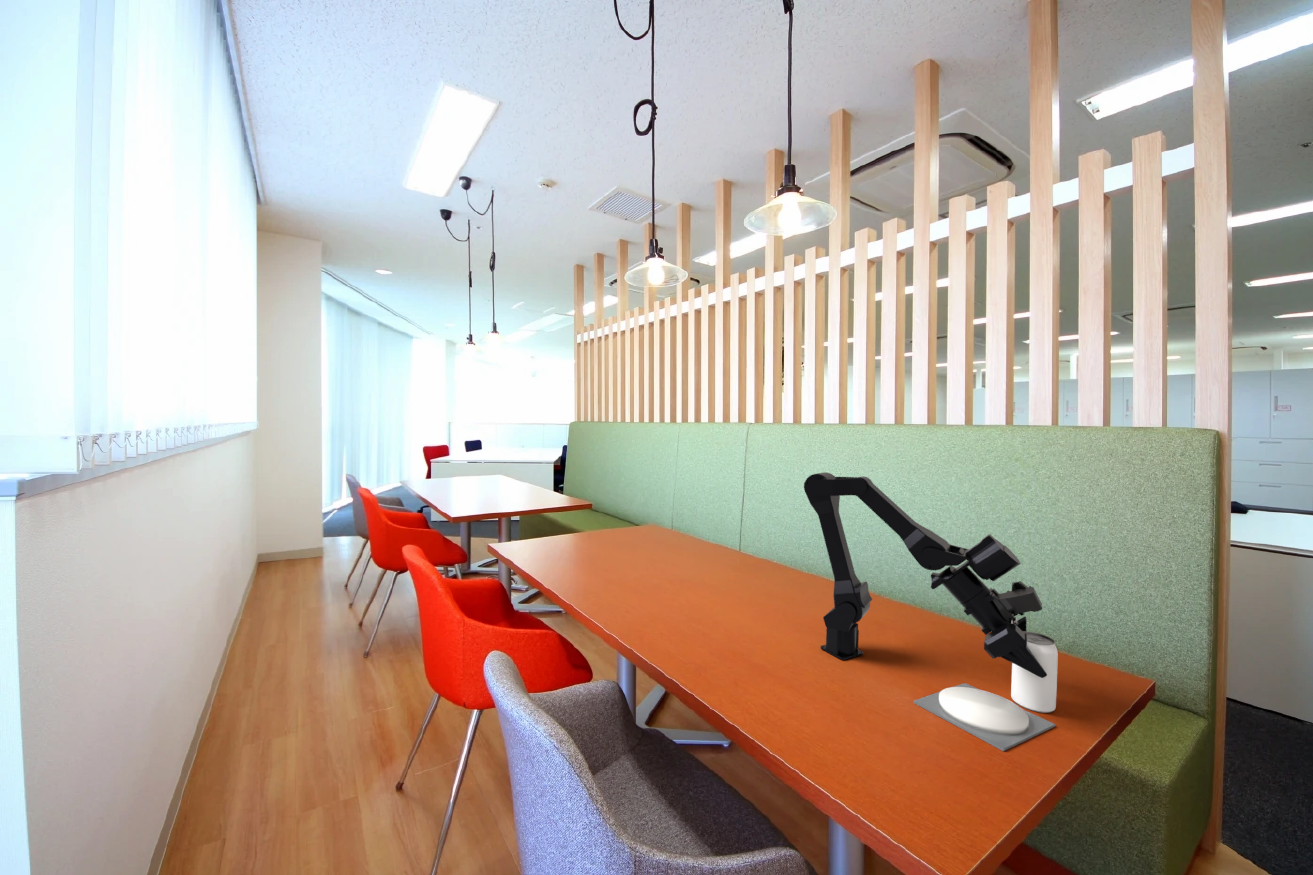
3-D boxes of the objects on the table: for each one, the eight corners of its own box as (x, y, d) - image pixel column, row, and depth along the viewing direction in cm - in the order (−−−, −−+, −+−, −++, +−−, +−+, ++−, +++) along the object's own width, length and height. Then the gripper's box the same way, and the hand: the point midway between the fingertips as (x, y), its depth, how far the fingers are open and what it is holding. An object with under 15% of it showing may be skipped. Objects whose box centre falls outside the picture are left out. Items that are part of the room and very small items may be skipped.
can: (1002, 694, 94) (1004, 630, 94) (1034, 693, 95) (1037, 630, 94) (1030, 714, 88) (1033, 645, 87) (1065, 713, 88) (1068, 645, 88)
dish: (1003, 751, 77) (1003, 742, 77) (913, 702, 91) (913, 695, 91) (1055, 726, 84) (1055, 718, 84) (964, 684, 97) (964, 677, 97)
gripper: (1009, 582, 85) (1093, 666, 79) (1011, 560, 101) (1082, 629, 94) (954, 617, 90) (1029, 699, 84) (963, 591, 105) (1027, 659, 99)
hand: (1044, 669), depth 90 cm, fingers closed on can, 6 cm apart
